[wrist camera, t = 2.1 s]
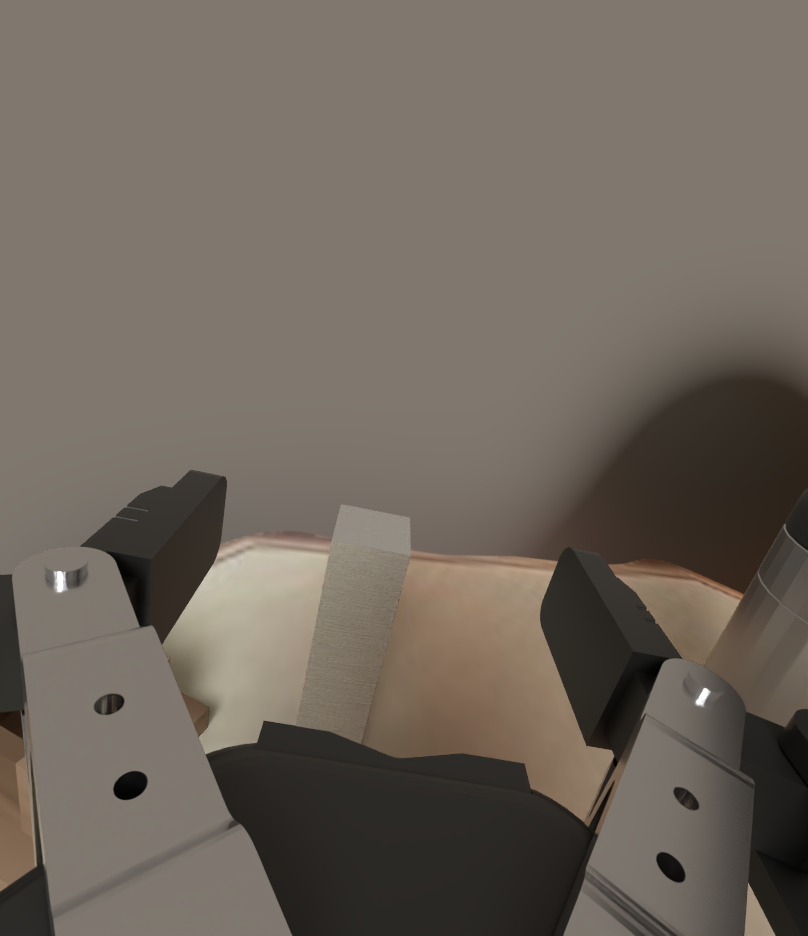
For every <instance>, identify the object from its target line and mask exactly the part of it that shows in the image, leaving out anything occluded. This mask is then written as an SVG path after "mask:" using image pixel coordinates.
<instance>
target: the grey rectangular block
mask: <svg viewBox="0 0 808 936" xmlns="http://www.w3.org/2000/svg"><path fill="white" fill-rule="evenodd" d="M410 547H411V544H410V518H409V517H403V516H399V515H393V514H388V513H384V512H379V511H373V510H368V509H363V508H358V507H353V506H348V505H343V504H341V507H340V511H339V515H338V518H337V523H336V526H335V530H334V534H333V538H332V542H331V547H330V552H329V557H328V563H327V568H326V573H325V578H324V584H323V589H322V594H321V599H320V604H319V610H318V615H317V620H316V625H315V630H314V636H313V641H312V646H311V651H310V656H309V662H308V667H307V672H306V677H305V683H304V688H303V693H302V698H301V703H300V709H299V714H298V719H297V724H296V726H299V727H305V728H311V729H317V730H323V731H329V732H332V733H335V734H337V735H340V736H342V737H344V738H347V739H349V740H352V741H354V742H357V743H359V744H361V742H362V739H363V735H364V731H365V727H366V723H367V720H368V716H369V712H370V708H371V704H372V701H373V697H374V693H375V689H376V685H377V682H378V678H379V674H380V670H381V666H382V663H383V659H384V655H385V651H386V647H387V644H388V640H389V636H390V632H391V628H392V625H393V621H394V617H395V613H396V609H397V606H398V602H399V598H400V594H401V590H402V586H403V583H404V579H405V575H406V571H407V567H408V564H409V560H410V556H411V548H410Z"/></svg>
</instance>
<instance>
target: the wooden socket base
mask: <svg viewBox="0 0 808 936" xmlns="http://www.w3.org/2000/svg"><path fill="white" fill-rule="evenodd" d="M166 657H167V660H168V662H169V665H170V657H168V656H166ZM181 695H182V697H183V700H184V702H185V705H186V707H187V710H188V712H189V715H190V717H191V720H192V722H193V725H194V727H195V730H196V732H197V735H198V737H199V736H200V735H201V734H202V732H203V731H204V730H205V729H206V728H207V726H208V716H209V707H207V706H205V705H203V704H201V703H200V702H198V701H196V700H194V699H192V698H190V697H188V696H186V695H184V694H182V693H181ZM34 867H35V859H34V847H33V835H32V822H31V811H30V800H29V790H28V780H27V770H26V760H25V749H24V739H23V729H22V719H21V710H18V711H8V712H0V891H2V890H3V889H4V888H6V887H7V886H9V885H10V884H12V883H13V882H14V881H16V880H17V879H19V878H20V877H22V876H23V875H24V874H26V873H27V872H29V871H30V870H32V869H33V868H34Z"/></svg>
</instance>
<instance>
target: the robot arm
mask: <svg viewBox="0 0 808 936" xmlns="http://www.w3.org/2000/svg"><path fill="white" fill-rule="evenodd" d="M226 488H227V480H226V477H224V476H219V475H214V474H210V473H205V472H200V471H195V470H190V471H189V472H188V473H187V474H186V475H185V476H184V477H183V478H182V479H181V480H180V481H178V482H177V484H175V485H174V486H173V487H172V488H170V487H165V486H160V487H157V488H154V489H152V490H149V491H146V492H144V493H141V494H140V495H138V496H137V497H136V498H135V499H134V500H133V501H132V502H131V503H129V504H128V505H127V508H124V509H122V510H121V511H120V512H119V513H118V514H117V515H116V518H112V519H111V520H110V521H109V522H107V523H106V524H105V525H104V526H103V527H102V528H101V529H100V530H98V531H97V532H96V533H95V534H94V535H93V536H91V537H90V538H89V539H88V540H87V541H86V542H85V543H83V544H82V545H81V546H80V547H61V548H55V549H51V550H47V551H43V552H40V553H37V554H35V555H33V556H31V557H29V558H27V559H26V560H24V561H23V562H22V563H20V564H19V565H18V566H17V567H16V569H15V570H14V572H13V574H12V575H0V712H8V711H18V710H21V719H22V729H23V739H24V749H25V760H26V770H27V780H28V790H29V800H30V811H31V822H32V835H33V847H34V859H35V867H34V868H33V869H32V870H30V871H29V872H27V873H26V874H24V875H23V876H22V877H20V878H19V879H17V880H16V881H14V882H13V883H12V884H10V885H9V886H7V887H6V888H4V889H3V890H2V891H0V936H744V931H745V917H746V903H747V889H748V883H749V884H750V886H751V888H752V890H753V892H754V894H755V896H756V898H757V900H758V902H759V904H760V906H761V908H762V910H763V912H764V914H765V916H766V918H767V920H768V922H769V924H770V925H771V927H772V929H773V931H774V933H775V935H776V936H808V488H807V489H806V490H805V491H804V492H803V494H802V495H801V497H800V498H799V500H798V501H797V503H796V505H795V506H794V508H793V510H792V512H791V513H790V515H789V517H788V519H787V520H786V523H785V524H784V526H783V527H782V529H781V531H780V533H779V534H778V536H777V538H776V540H775V541H774V543H773V545H772V547H771V548H770V550H769V552H768V554H767V555H766V557H765V559H764V561H763V562H762V564H761V566H760V568H759V570H758V572H757V574H756V575H755V577H754V579H753V580H752V583H751V584H750V586H749V587H748V589H747V591H746V593H745V594H744V596H743V598H742V600H741V601H740V603H739V605H738V607H737V608H736V610H735V612H734V614H733V615H732V617H731V619H730V621H729V622H728V624H727V626H726V628H725V629H724V631H723V633H722V635H721V636H720V638H719V640H718V642H717V643H716V645H715V647H714V648H713V650H712V652H711V654H710V655H709V657H708V659H707V661H706V662H705V664H704V666H701V665H699V664H697V663H694V662H691V661H688V660H684V659H682V657H681V656H680V655H679V653H678V652H677V650H676V649H675V648H674V646H673V645H672V643H671V642H670V640H669V639H668V638H667V636H666V635H665V633H664V632H663V631H662V629H661V628H660V626H659V625H658V624H656V623H655V619H654V618H653V616H652V615H651V614H650V612H649V611H646V607H645V605H644V604H643V602H642V601H641V599H640V598H639V597H638V595H637V594H636V593H635V592H634V591H633V590H632V589H631V588H630V587H628V586H627V585H626V584H625V583H624V582H622V581H621V580H620V579H619V578H616V576H615V575H614V573H613V572H612V570H611V569H610V567H609V566H608V564H607V563H606V561H605V560H604V558H603V557H602V556H601V555H600V554H599V553H594V552H589V551H584V550H579V549H574V548H569V547H568V548H566V549H565V550H564V551H563V552H562V554H561V556H560V558H559V560H558V563H557V566H556V568H555V571H554V573H553V576H552V578H551V581H550V583H549V586H548V588H547V591H546V594H545V596H544V599H543V601H542V605H541V612H540V622H541V627H542V630H543V633H544V635H545V638H546V640H547V643H548V646H549V648H550V651H551V654H552V656H553V659H554V662H555V664H556V667H557V669H558V672H559V675H560V677H561V680H562V683H563V685H564V688H565V690H566V693H567V696H568V698H569V701H570V704H571V706H572V709H573V711H574V714H575V717H576V719H577V722H578V725H579V727H580V730H581V732H582V735H583V738H584V740H585V743H586V746H591V747H597V748H603V749H609V750H612V751H613V754H614V757H613V759H612V761H611V763H610V765H609V767H608V769H607V771H606V773H605V775H604V778H603V780H602V782H601V785H600V787H599V789H598V792H597V794H596V796H595V798H594V801H593V803H592V805H591V808H590V810H589V812H588V815H587V817H586V819H585V822H583V821H582V820H580V819H579V818H578V817H577V816H575V815H574V814H573V813H571V812H570V811H569V810H568V809H566V808H565V807H563V806H562V805H560V804H559V803H557V802H556V801H554V800H553V799H551V798H549V797H547V796H545V795H543V794H542V793H540V792H538V791H535V790H533V789H531V788H530V784H529V780H528V776H527V772H526V768H525V764H523V763H517V762H511V761H505V760H499V759H493V758H487V757H481V756H475V755H469V754H451V755H439V756H427V757H415V758H394V757H391V756H388V755H386V754H383V753H381V752H378V751H376V750H374V749H371V748H369V747H366V746H364V745H361V744H359V743H357V742H354V741H352V740H349V739H347V738H344V737H342V736H340V735H337V734H335V733H332V732H329V731H323V730H317V729H311V728H305V727H299V726H293V725H287V724H281V723H275V722H269V721H264V722H263V725H262V729H261V732H260V735H259V738H258V742H257V743H252V744H243V745H237V746H232V747H227V748H224V749H221V750H217V751H214V752H211V753H208V754H206V755H205V752H204V750H203V747H202V745H201V742H200V740H199V737H198V735H197V732H196V730H195V727H194V725H193V722H192V720H191V717H190V715H189V712H188V710H187V707H186V705H185V702H184V700H183V697H182V695H181V692H180V690H179V687H178V685H177V682H176V680H175V677H174V675H173V672H172V670H171V667H170V665H169V662H168V660H167V657H166V655H165V652H164V650H163V647H162V643H163V642H164V640H165V639H166V637H167V636H168V634H169V632H170V631H171V629H172V628H173V626H174V625H175V623H176V621H177V620H178V618H179V617H180V615H181V614H182V612H183V610H184V609H185V607H186V606H187V604H188V603H189V601H190V599H191V598H192V596H193V595H194V593H195V592H196V590H197V588H198V587H199V585H200V584H201V582H202V581H203V579H204V577H205V576H206V574H207V573H208V571H209V570H210V568H211V566H212V565H213V563H214V561H215V559H216V556H217V553H218V550H219V546H220V542H221V535H222V526H223V517H224V508H225V498H226Z"/></svg>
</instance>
